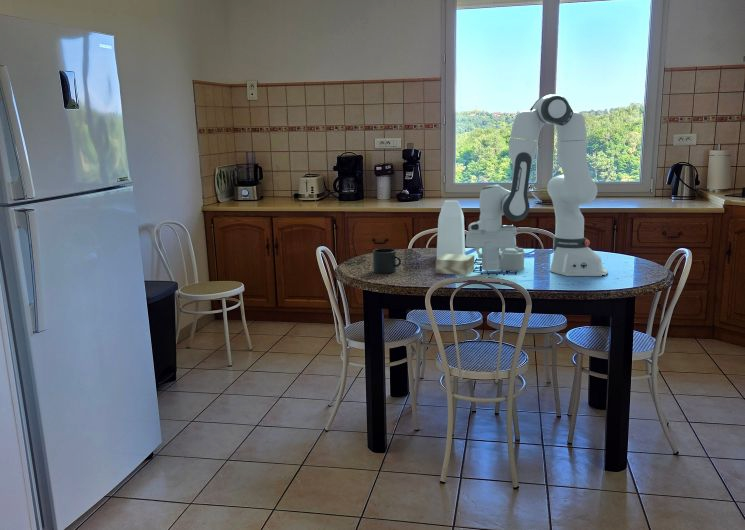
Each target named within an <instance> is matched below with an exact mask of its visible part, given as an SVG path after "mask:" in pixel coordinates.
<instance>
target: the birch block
mask: <svg viewBox="0 0 745 530" xmlns="http://www.w3.org/2000/svg"><path fill="white" fill-rule="evenodd" d="M474 269H475V255H473V254H465V255H459V254H443V255H442V256H440V257H439V258H437V259H435V273H436V274H447V275H461V276H467V275H468V274H470V273H472V271H473V270H474Z"/></svg>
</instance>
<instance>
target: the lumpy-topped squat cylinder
mask: <svg viewBox="0 0 745 530" xmlns="http://www.w3.org/2000/svg"><path fill="white" fill-rule="evenodd" d="M502 252H503V251H502V248H499V254H502ZM499 269H501V270H500V271H509V270H512V271H511V272H519V271H518V270H520V271H522V270H524V269H525V251H524V248H523V247H518V246H515V247H514V248H506V251H505V252H504V254H503V259H499Z"/></svg>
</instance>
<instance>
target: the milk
mask: <svg viewBox="0 0 745 530" xmlns="http://www.w3.org/2000/svg"><path fill="white" fill-rule="evenodd" d="M437 220H438V221H437V238H436V239H437V240H436V241H437V242H436V257H435V258H439V257H440V256H442V255H443V254H459V255H466V236H465V234H466V233H465V217H464V212H463V210H462V207H461V205H460V202H459V200H444V203H443V204H442V206H441V210H440V212H439V216H438V219H437Z"/></svg>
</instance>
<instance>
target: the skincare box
mask: <svg viewBox="0 0 745 530" xmlns="http://www.w3.org/2000/svg"><path fill="white" fill-rule="evenodd" d="M499 251H500V248H493V247H492V242H484V248H481V254H482V258H481V269H482V270H483V271H485V272H490V271H499Z"/></svg>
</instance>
